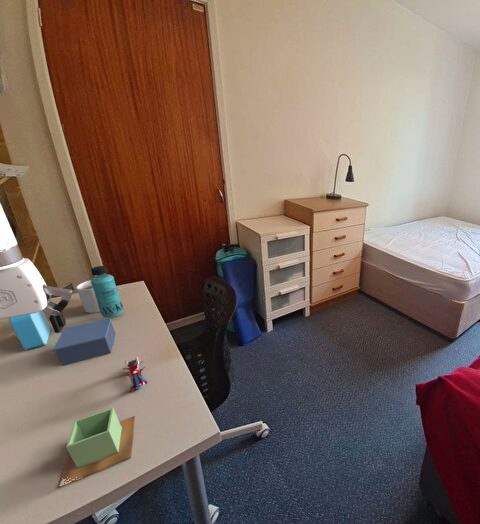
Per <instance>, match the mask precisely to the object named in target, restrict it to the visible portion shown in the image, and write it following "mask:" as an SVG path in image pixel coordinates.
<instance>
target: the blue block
mask: <svg viewBox="0 0 480 524" xmlns="http://www.w3.org/2000/svg"><path fill="white" fill-rule="evenodd" d="M115 338H116V331H115V328H114V325H113V323H112V317H111V318H104V319H99V320H95V321H89V322H86V323H81V324H77V325H72V326H67V327H63V329H62V331H61V334H60V335H59V338H58V339H57V342H56V343H55V345H54V347H53V349H52V350H53V352H55V353H56V355H57V358H58V360H59V361H60V364H61V366H62V367H63V366H67V365H71V364H74V363H78V362H82V361H86V360H90V359H93V358H98V357H101V356H105V355H108V354H109V355H110V354H111V353H112V350H113V345H114V342H115Z"/></svg>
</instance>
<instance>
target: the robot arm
mask: <svg viewBox="0 0 480 524" xmlns="http://www.w3.org/2000/svg"><path fill="white" fill-rule="evenodd" d="M73 292H74V291H73V289H69V288H63V287H57V286H51V285H47V283H46V281H45V280H44V278H43V276H42V274H41V273H40V271H39V270H38V268H37V267H36V265H34V263H33V262H32V261H31V260H30V259H29V258H28V257H26V258H25V257H24V255H23V253H22V250H21V248H20V246H19V244H18V242H17V238H16V237H15V234H14V232H13V230H12V227H11V225H10V222H9V221H8V217H7V215H6V214H5V212H4V209H3V206H2V204H1V203H0V320H3V319H9V318H11V317H16V316H22V315H28V314H33V313H37V312H40V311H43V312H44V313H46V314H48V315H49V317H48V319H49V320H48V321H49V322H50V324H51V326H52V329H53V331H54V333H55V334H60V333H62V332H63V330H64V328H65V326H66V325H67V320H66V318H65V316H64V313H63V310H64V309H65V308H66V307H68V305H69V304H70V301H71V298H72V296H73ZM52 296H55V297H60V298H61V299H60V301H59V302H56V301H54V300H52Z"/></svg>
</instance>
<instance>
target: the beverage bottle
mask: <svg viewBox="0 0 480 524" xmlns="http://www.w3.org/2000/svg"><path fill="white" fill-rule="evenodd" d="M90 271H91V275H92V276H93V277H92V278H91V279H90V280H91V281H90V280H89V281H90V282H91V284H92V287H93V290H94V293H95V297H96V299H97V302H98V303H97V304H98V306H99V309H100V312H99V313H100V314H101V316H102V317H103V318H104V319H108V318H111V319H112V318H115V317H117V316H120V315H122V314H123V313H124V305H123V302H122V300H121V297H120V293H119V291H118V290H119V289H118V288H117V285H116V281H115V277H114V276H113V275H111V274H109V273H108V272H109V270H108V269H107V266H105V265H98V266H94V267H91V269H90Z"/></svg>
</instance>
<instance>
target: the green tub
mask: <svg viewBox="0 0 480 524" xmlns="http://www.w3.org/2000/svg"><path fill="white" fill-rule="evenodd" d="M119 421H120V420H119V417H118V415H117V413H116V411H115V408H114V407H111V408H108V409H106V410H102V411H99V412H96V413H94V414H92V415H88V416H85V417H82V418H78V419H76V420H74V421H73V424H72V428H71V430H70V433H69V437H68V440H67V443H66V446H65V448H66V450H67V451H68V454H69V453H70V455H71V457H72V459H73V461H74V463H75V464H76V466H77V468H78V469H79V468H81V467H84V466H86V465H89V464H91V463H94V462H96V461H99V460H101V459H103V458H106V457H108V456H111V455H113V454H116V453H118V451H119V444H120V437H121V430H122V427H121V425H120V422H119Z"/></svg>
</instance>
